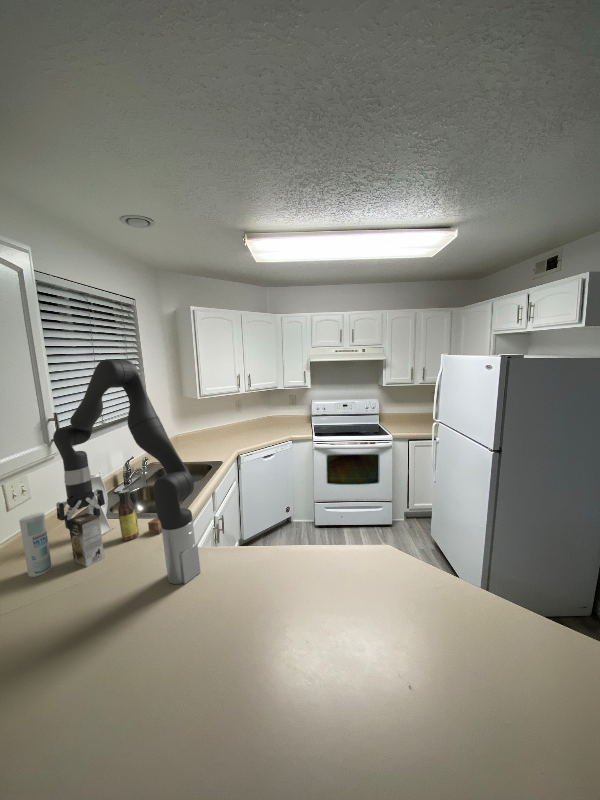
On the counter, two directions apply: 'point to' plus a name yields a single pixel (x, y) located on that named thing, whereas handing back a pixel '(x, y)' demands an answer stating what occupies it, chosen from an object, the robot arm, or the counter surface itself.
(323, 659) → the counter surface
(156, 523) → the walnut block
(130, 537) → the sauce bottle
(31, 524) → the spray can
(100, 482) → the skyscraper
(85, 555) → the coffee box
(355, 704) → the counter surface
